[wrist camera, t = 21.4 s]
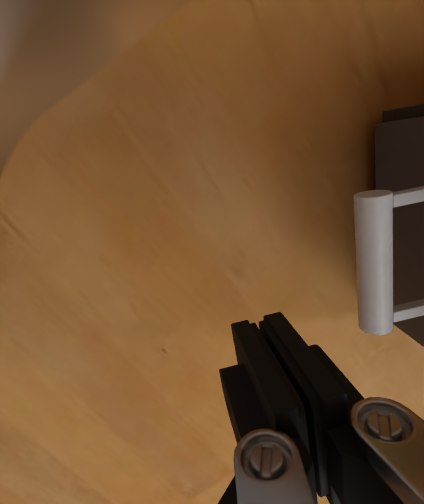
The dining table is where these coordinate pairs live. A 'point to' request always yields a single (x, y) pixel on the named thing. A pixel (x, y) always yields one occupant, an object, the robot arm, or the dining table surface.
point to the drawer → (392, 233)
